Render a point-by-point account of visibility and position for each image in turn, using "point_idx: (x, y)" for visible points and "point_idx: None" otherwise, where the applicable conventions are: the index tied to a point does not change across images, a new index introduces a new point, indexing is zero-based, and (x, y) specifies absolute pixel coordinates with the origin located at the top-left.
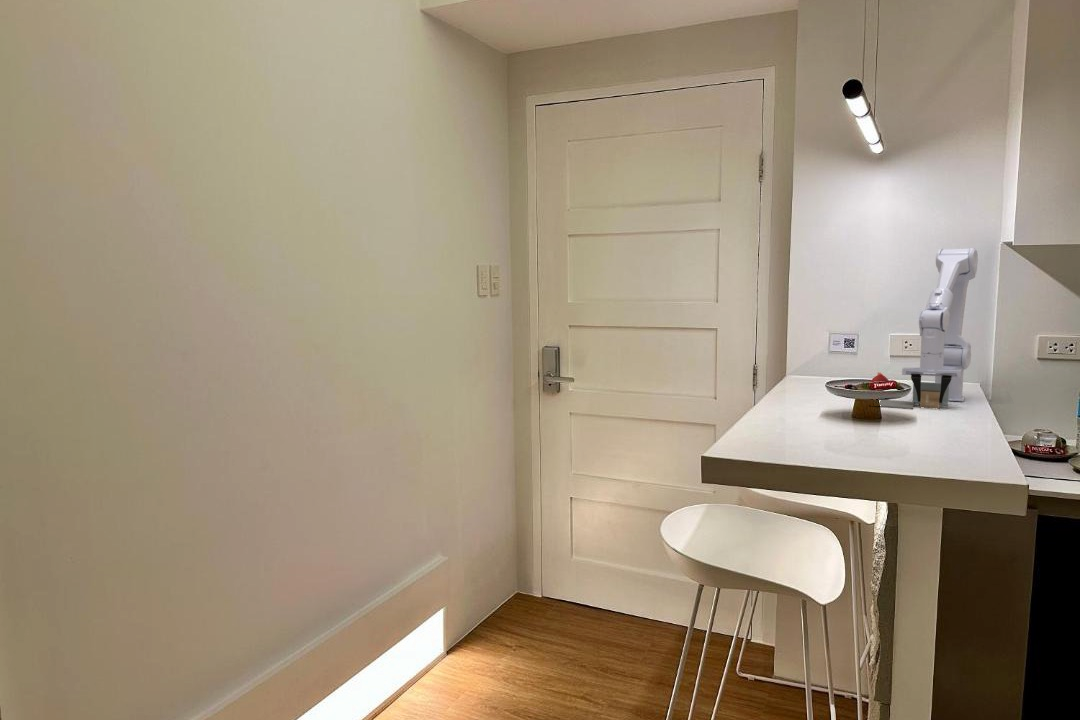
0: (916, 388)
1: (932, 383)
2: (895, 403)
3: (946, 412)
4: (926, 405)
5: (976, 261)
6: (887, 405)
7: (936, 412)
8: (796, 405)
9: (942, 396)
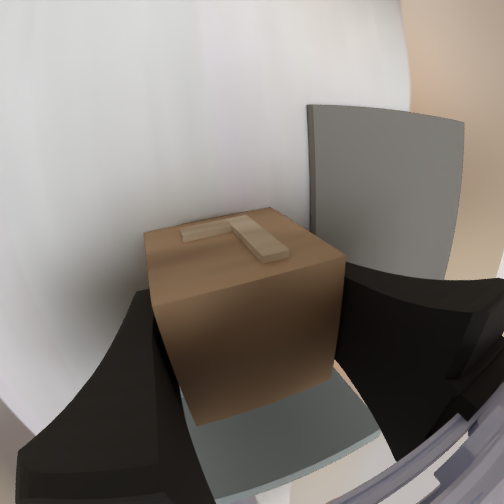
0: (394, 275)
1: (275, 477)
2: (394, 225)
3: (65, 90)
4: (236, 219)
5: None
6: (422, 133)
7: (135, 42)
8: None
9: (129, 315)
